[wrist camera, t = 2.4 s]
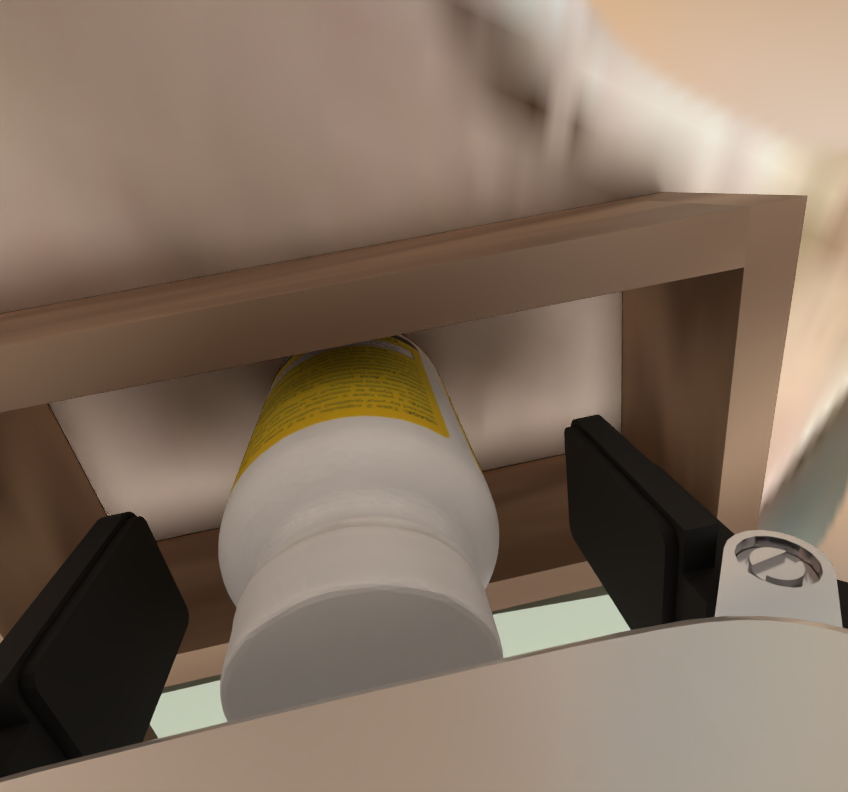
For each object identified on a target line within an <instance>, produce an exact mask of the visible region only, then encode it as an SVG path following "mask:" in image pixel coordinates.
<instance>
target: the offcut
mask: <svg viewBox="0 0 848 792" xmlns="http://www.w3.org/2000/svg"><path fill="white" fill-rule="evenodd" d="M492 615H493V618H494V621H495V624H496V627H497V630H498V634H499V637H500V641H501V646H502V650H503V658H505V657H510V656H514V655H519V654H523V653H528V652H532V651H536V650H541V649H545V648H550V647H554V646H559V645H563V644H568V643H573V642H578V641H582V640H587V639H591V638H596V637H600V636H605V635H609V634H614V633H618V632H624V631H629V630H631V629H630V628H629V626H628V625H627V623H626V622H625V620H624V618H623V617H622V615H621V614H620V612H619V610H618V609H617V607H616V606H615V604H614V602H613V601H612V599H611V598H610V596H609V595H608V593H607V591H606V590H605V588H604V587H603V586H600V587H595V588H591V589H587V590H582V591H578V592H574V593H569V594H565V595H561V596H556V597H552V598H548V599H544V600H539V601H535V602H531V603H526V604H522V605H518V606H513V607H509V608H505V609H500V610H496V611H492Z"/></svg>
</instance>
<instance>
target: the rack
mask: <svg viewBox="0 0 848 792" xmlns="http://www.w3.org/2000/svg"><path fill="white" fill-rule="evenodd" d="M806 202H807V196H798V195H758V194H718V193H677V192H661V193H655V194H650V195H645V196H639V197H634V198H628V199H623V200H617V201H612V202H606V203H601V204H596V205H590V206H585V207H579V208H574V209H568V210H563V211H557V212H552V213H547V214H541V215H536V216H530V217H525V218H519V219H514V220H508V221H503V222H497V223H492V224H487V225H481V226H476V227H470V228H465V229H459V230H454V231H448V232H443V233H438V234H432V235H427V236H421V237H416V238H410V239H405V240H399V241H394V242H389V243H383V244H378V245H372V246H367V247H361V248H356V249H350V250H345V251H340V252H334V253H329V254H323V255H318V256H312V257H307V258H301V259H296V260H291V261H285V262H280V263H274V264H269V265H263V266H258V267H252V268H247V269H241V270H236V271H231V272H225V273H220V274H214V275H209V276H203V277H198V278H192V279H187V280H182V281H176V282H171V283H165V284H160V285H154V286H149V287H143V288H138V289H133V290H127V291H122V292H116V293H111V294H105V295H100V296H94V297H89V298H84V299H78V300H73V301H67V302H62V303H56V304H51V305H45V306H40V307H35V308H29V309H24V310H18V311H13V312H7V313H2V314H0V643H1V642H2V640H3V639H4V638H5V637H6V635H7V634H8V633H9V632H10V630H11V629H12V628H13V626H14V625H15V624H16V623H17V621H18V620H19V619H20V618H21V616H22V615H23V614H24V613H25V611H26V610H27V609H28V607H29V606H30V605H31V604H32V602H33V601H34V600H35V599H36V597H37V596H38V595H39V594H40V592H41V591H42V590H43V589H44V587H45V586H46V585H47V583H48V582H49V581H50V580H51V578H52V577H53V576H54V575H55V573H56V572H57V571H58V570H59V568H60V567H61V566H62V564H63V563H64V562H65V561H66V559H67V558H68V557H69V556H70V554H71V553H72V552H73V551H74V549H75V548H76V547H77V546H78V544H79V543H80V542H81V540H82V539H83V538H84V537H85V535H86V534H87V533H88V532H89V530H90V529H91V528H92V527H93V525H94V524H95V523H96V522H97V520H99V519H100V518H102V517H106V516H107V515H106V513H105V512H104V510H103V508H102V506H101V504H100V502H99V500H98V498H97V496H96V495H95V493H94V491H93V489H92V487H91V485H90V483H89V481H88V479H87V478H86V476H85V474H84V472H83V470H82V468H81V466H80V464H79V462H78V460H77V459H76V457H75V455H74V453H73V451H72V449H71V447H70V445H69V443H68V442H67V440H66V438H65V436H64V434H63V432H62V430H61V428H60V426H59V425H58V423H57V421H56V419H55V417H54V415H53V413H52V411H51V409H50V408H49V406H48V404H47V403H51V402H56V401H61V400H67V399H72V398H77V397H82V396H87V395H92V394H97V393H103V392H108V391H113V390H118V389H123V388H128V387H133V386H138V385H144V384H149V383H154V382H159V381H164V380H169V379H174V378H179V377H185V376H190V375H195V374H200V373H205V372H210V371H215V370H220V369H226V368H231V367H236V366H241V365H246V364H251V363H256V362H261V361H267V360H272V359H277V358H282V357H287V356H292V355H297V354H302V353H308V352H313V351H318V350H323V349H328V348H333V347H338V346H343V345H349V344H354V343H359V342H364V341H369V340H374V339H379V338H384V337H390V336H395V335H400V334H405V333H410V332H415V331H420V330H425V329H431V328H436V327H441V326H446V325H451V324H456V323H461V322H466V321H472V320H477V319H482V318H487V317H492V316H497V315H502V314H508V313H513V312H518V311H523V310H528V309H533V308H538V307H543V306H549V305H554V304H559V303H564V302H569V301H574V300H579V299H584V298H590V297H595V296H600V295H605V294H610V293H615V292H620V291H623V342H622V436H623V437H625V438H626V439H627V440H628V441H629V442H630V443H631V444H632V445H633V446H634V447H636V448H637V449H638V450H639V451H640V452H641V453H642V454H643V455H644V456H645V457H647V458H648V459H649V460H650V461H651V462H652V463H655V464H656V465H658V466H659V467H660V468H662V469H663V470H664V471H665V472H666V473H667V474H668V475H669V476H670V477H672V478H673V479H674V480H675V481H676V482H677V483H678V484H679V485H680V486H682V487H683V488H684V489H685V490H686V491H687V492H688V493H689V494H690V495H692V496H693V497H694V498H695V499H696V500H697V501H698V502H699V503H700V504H702V505H703V506H704V507H705V508H706V509H707V510H708V511H709V512H710V513H712V514H713V515H714V516H715V517H716V518H717V519H718V520H719V521H720V522H722V523H723V524H724V525H725V526H726V527H727V528H728V529H729V530H730V531H732V532H733V533H734V534H738V533H741V532H744V531H750V530H757V525H758V519H759V512H760V505H761V499H762V492H763V486H764V479H765V472H766V466H767V459H768V453H769V446H770V439H771V433H772V426H773V420H774V413H775V406H776V400H777V393H778V387H779V380H780V373H781V367H782V360H783V354H784V347H785V340H786V334H787V327H788V321H789V314H790V307H791V301H792V294H793V288H794V281H795V274H796V268H797V261H798V255H799V248H800V241H801V235H802V228H803V222H804V215H805V208H806ZM482 473H483V475H484V478H485V480H486V483H487V485H488V487H489V490H490V493H491V496H492V499H493V501H494V504H495V508H496V512H497V516H498V522H499V549H498V556H497V560H496V564H495V568H494V571H493V574H492V576H491V579H490V581H489V583H488V585H487V587H486V589H485V591H486V595H487V598H488V602H489V605H490V608H491V611H496V610H500V609H505V608H509V607H513V606H518V605H522V604H526V603H531V602H535V601H539V600H544V599H548V598H552V597H556V596H561V595H565V594H569V593H574V592H578V591H582V590H587V589H591V588H595V587H600V586H603V585H602V583H601V582H600V580H599V579H598V577H597V575H596V574H595V572H594V571H593V569H592V568H591V566H590V564H589V563H588V561H587V560H586V558H585V556H584V555H583V553H582V552H581V550H580V549H579V547H578V545H577V544H576V542H575V540H574V539H573V536H572V534H571V530H570V525H569V510H568V491H567V473H566V454H564V455H559V456H555V457H550V458H545V459H541V460H536V461H531V462H527V463H522V464H517V465H513V466H508V467H503V468H499V469H494V470H489V471H485V472H482ZM219 532H220V528H218V529H214V530H209V531H204V532H200V533H195V534H190V535H186V536H181V537H176V538H172V539H167V540H162V541H158V542H156V543H157V545H158V547H159V549H160V551H161V553H162V555H163V557H164V560H165V562H166V564H167V566H168V568H169V570H170V572H171V574H172V576H173V578H174V581H175V583H176V585H177V587H178V589H179V591H180V593H181V595H182V597H183V600H184V602H185V604H186V606H187V608H188V612H189V623H188V627H187V629H186V632H185V634H184V637H183V640H182V642H181V645H180V647H179V650H178V652H177V655H176V658H175V660H174V663H173V665H172V668H171V670H170V673H169V676H168V678H167V681H166V683H165V686H164V687H168V686H172V685H176V684H181V683H185V682H189V681H194V680H198V679H202V678H206V677H211V676H215V675H219V674H221V673H222V668H223V664H224V660H225V656H226V652H227V649H228V645H229V641H230V637H231V633H232V626H233V620H234V616H235V612H236V606H235V604H234V603H233V601H232V599H231V598H230V596H229V594H228V592H227V589H226V587H225V585H224V582H223V578H222V574H221V570H220V565H219V559H218V541H219ZM154 739H158V737H157V735H156V733H155V732H154V730H153V729H152V727H151V725H149V727H148V730H147V732H146V735H145V737H144V740H143V742H145V741H149V740H154Z"/></svg>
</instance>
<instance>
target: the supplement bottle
mask: <svg viewBox="0 0 848 792" xmlns="http://www.w3.org/2000/svg"><path fill="white" fill-rule="evenodd" d="M498 549H499V522H498V516H497V512H496V508H495V504H494V501H493V499H492V496H491V493H490V490H489V487H488V485H487V483H486V480H485V478H484V475H483V473H482V470H481V468H480V466H479V464H478V462H477V459H476V457H475V455H474V453H473V450H472V448H471V446H470V444H469V441H468V439H467V437H466V435H465V432H464V430H463V428H462V425H461V424H460V421H459V418H458V416H457V414H456V412H455V410H454V408H453V405H452V403H451V400H450V398H449V396H448V394H447V391H446V389H445V386H444V384H443V382H442V380H441V378H440V375H439V373H438V372H437V370H436V368H435V367H434V365H433V363H432V362H431V360H430V359H429V357H428V356H427V355H426V354H425V353H424V352H423V351H422V350H421V349H420V348H419V347H418V346H417V345H416V344H415V343H413V342H412V341H410V340H409V339H408V338H406V337H404V336H403V335H401V334H400V335H395V336H390V337H384V338H379V339H374V340H369V341H364V342H359V343H354V344H349V345H343V346H338V347H333V348H328V349H323V350H318V351H313V352H308V353H302V354H297V355H292V356H289V357H288V358H287V359H286V360H285V362H284V363H283V365H282V366H281V368H280V369H279V371H278V373H277V374H276V376H275V378H274V380H273V382H272V385H271V388H270V390H269V393H268V396H267V398H266V401H265V404H264V406H263V408H262V412H261V414H260V417H259V419H258V422H257V424H256V427H255V429H254V432H253V435H252V437H251V440H250V442H249V445H248V447H247V450H246V453H245V455H244V458H243V461H242V463H241V466H240V469H239V471H238V474H237V476H236V479H235V482H234V484H233V487H232V490H231V492H230V495H229V498H228V501H227V504H226V507H225V510H224V515H223V518H222V522H221V526H220V532H219V541H218V559H219V565H220V570H221V574H222V578H223V582H224V585H225V587H226V589H227V592H228V594H229V596H230V598H231V599H232V601H233V603H234V604H235V606H236V612H235V616H234V620H233V626H232V633H231V637H230V641H229V645H228V649H227V652H226V656H225V660H224V664H223V668H222V673H221V679H220V697H221V703H222V708H223V713H224V715H225V717H226V719H227V721H228V722H229V721H233V720H237V719H241V718H246V717H250V716H254V715H258V714H263V713H267V712H271V711H275V710H280V709H284V708H288V707H293V706H297V705H301V704H305V703H310V702H314V701H318V700H323V699H327V698H331V697H335V696H340V695H344V694H348V693H353V692H357V691H361V690H366V689H370V688H374V687H378V686H383V685H387V684H391V683H396V682H400V681H404V680H409V679H413V678H417V677H422V676H426V675H430V674H435V673H439V672H444V671H448V670H453V669H457V668H461V667H466V666H470V665H475V664H479V663H483V662H488V661H492V660H497V659H501V658H503V650H502V646H501V641H500V637H499V634H498V630H497V627H496V624H495V621H494V618H493V615H492V611H491V608H490V605H489V602H488V598H487V595H486V591H485V589H486V587H487V585H488V583H489V581H490V579H491V576H492V574H493V571H494V568H495V564H496V560H497V556H498Z"/></svg>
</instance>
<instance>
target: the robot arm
mask: <svg viewBox="0 0 848 792" xmlns="http://www.w3.org/2000/svg"><path fill="white" fill-rule="evenodd" d="M564 436H565V454H566V473H567V491H568V510H569V525H570V530H571V534H572V536H573V539H574V540H575V542H576V544H577V545H578V547H579V549H580V550H581V552H582V553H583V555H584V556H585V558H586V560H587V561H588V563H589V564H590V566H591V568H592V569H593V571H594V572H595V574H596V575H597V577H598V579H599V580H600V582H601V583H602V585H603V587H604V588H605V590H606V591H607V593H608V595H609V596H610V598H611V599H612V601H613V602H614V604H615V606H616V607H617V609H618V610H619V612H620V614H621V615H622V617H623V618H624V620H625V622H626V623H627V625H628V626H629V628H630V629H631V630H629V631H624V632H618V633H614V634H609V635H605V636H600V637H596V638H591V639H587V640H582V641H578V642H573V643H568V644H563V645H559V646H554V647H550V648H545V649H541V650H536V651H532V652H528V653H523V654H519V655H514V656H510V657H505V658H501V659H497V660H492V661H488V662H483V663H479V664H475V665H470V666H466V667H461V668H457V669H453V670H448V671H444V672H439V673H435V674H430V675H426V676H422V677H417V678H413V679H409V680H404V681H400V682H396V683H391V684H387V685H383V686H378V687H374V688H370V689H366V690H361V691H357V692H353V693H348V694H344V695H340V696H335V697H331V698H327V699H323V700H318V701H314V702H310V703H305V704H301V705H297V706H293V707H288V708H284V709H280V710H275V711H271V712H267V713H263V714H258V715H254V716H250V717H246V718H241V719H237V720H233V721H229V722H225V723H221V724H216V725H212V726H208V727H204V728H200V729H195V730H191V731H187V732H183V733H179V734H175V735H170V736H166V737H162V738H158V739H154V740H149V741H145V742H143V740H144V737H145V735H146V732H147V730H148V727H149V725H150V722H151V719H152V717H153V714H154V712H155V709H156V707H157V704H158V701H159V699H160V696H161V694H162V691H163V689H164V686H165V683H166V681H167V678H168V676H169V673H170V670H171V668H172V665H173V663H174V660H175V658H176V655H177V652H178V650H179V647H180V645H181V642H182V640H183V637H184V634H185V632H186V629H187V627H188V623H189V612H188V608H187V606H186V604H185V602H184V600H183V597H182V595H181V593H180V591H179V589H178V587H177V585H176V583H175V581H174V578H173V576H172V574H171V572H170V570H169V568H168V566H167V564H166V562H165V560H164V557H163V555H162V553H161V551H160V549H159V547H158V545H157V543H156V541H155V539H154V536H153V534H152V532H151V530H150V528H149V526H148V524H147V522H146V520H145V519H144V518H143V517H140V516H139V517H137V516H136V515H135V514H134V513H132V512H125V513H121V514H116V515H111V516H106V517H102V518H100V519H99V520H97V522H96V523H95V524H94V525H93V527H92V528H91V529H90V530H89V532H88V533H87V534H86V535H85V537H84V538H83V539H82V540H81V542H80V543H79V544H78V546H77V547H76V548H75V549H74V551H73V552H72V553H71V554H70V556H69V557H68V558H67V559H66V561H65V562H64V563H63V564H62V566H61V567H60V568H59V570H58V571H57V572H56V573H55V575H54V576H53V577H52V578H51V580H50V581H49V582H48V583H47V585H46V586H45V587H44V589H43V590H42V591H41V592H40V594H39V595H38V596H37V597H36V599H35V600H34V601H33V602H32V604H31V605H30V606H29V607H28V609H27V610H26V611H25V613H24V614H23V615H22V616H21V618H20V619H19V620H18V621H17V623H16V624H15V625H14V626H13V628H12V629H11V630H10V632H9V633H8V634H7V635H6V637H5V638H4V639H3V640H2V642H1V643H0V792H848V583H847V582H844V581H840V580H837V578H836V572H835V569H834V567H833V564H832V563H831V561H830V560H829V559H828V558H827V557H826V556H825V555H824V554H823V552H821V551H820V550H818V549H817V548H815V547H814V546H812V545H811V544H809V543H807V542H805V541H803V540H801V539H798V538H796V537H794V536H791V535H787V534H783V533H780V532H775V531H767V530H750V531H744V532H741V533H738V534H734V533H733V532H732V531H730V530H729V529H728V528H727V527H726V526H725V525H724V524H723V523H722V522H720V521H719V520H718V519H717V518H716V517H715V516H714V515H713V514H712V513H710V512H709V511H708V510H707V509H706V508H705V507H704V506H703V505H702V504H700V503H699V502H698V501H697V500H696V499H695V498H694V497H693V496H692V495H690V494H689V493H688V492H687V491H686V490H685V489H684V488H683V487H682V486H680V485H679V484H678V483H677V482H676V481H675V480H674V479H673V478H672V477H670V476H669V475H668V474H667V473H666V472H665V471H664V470H663V469H662V468H660V467H659V466H658V465H656V464H655V463H652V462H651V461H650V460H649V459H648V458H647V457H645V456H644V455H643V454H642V453H641V452H640V451H639V450H638V449H637V448H636V447H634V446H633V445H632V444H631V443H630V442H629V441H628V440H627V439H626V438H625V437H623V436H622V435H621V434H620V433H619V432H618V431H617V430H616V429H615V428H614V427H612V426H611V425H610V424H609V423H608V422H607V421H606V420H605V419H604V418H602V417H601V416H600V415H593V416H589V417H584V418H579V419H574V420H573V421H572V424H571V427H567V428H566V429H565V433H564Z"/></svg>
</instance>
